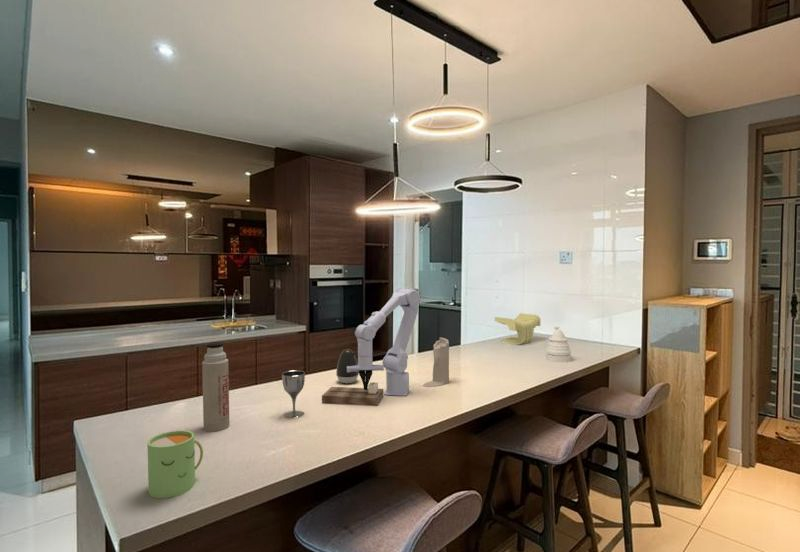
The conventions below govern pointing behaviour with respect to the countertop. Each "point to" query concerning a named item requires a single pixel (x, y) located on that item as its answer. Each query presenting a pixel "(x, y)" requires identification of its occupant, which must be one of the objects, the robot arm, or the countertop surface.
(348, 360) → the pump dispenser
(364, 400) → the fader console
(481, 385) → the countertop surface
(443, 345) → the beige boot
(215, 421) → the thermos bottle
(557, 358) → the honey pot
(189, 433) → the mug
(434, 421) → the countertop surface
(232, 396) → the countertop surface
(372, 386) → the fader tab
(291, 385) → the silver metal goblet
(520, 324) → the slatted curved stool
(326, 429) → the countertop surface
